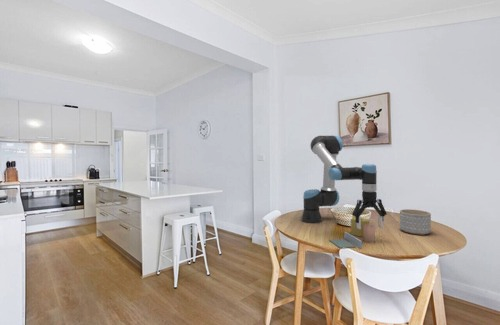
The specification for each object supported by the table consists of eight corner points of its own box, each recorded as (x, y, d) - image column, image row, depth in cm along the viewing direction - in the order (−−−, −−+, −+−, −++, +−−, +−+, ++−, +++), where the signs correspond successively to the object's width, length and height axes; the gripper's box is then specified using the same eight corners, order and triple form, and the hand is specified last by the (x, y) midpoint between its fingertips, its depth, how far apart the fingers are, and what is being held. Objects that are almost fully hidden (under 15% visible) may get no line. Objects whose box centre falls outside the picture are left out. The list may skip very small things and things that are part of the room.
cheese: (369, 233, 155) (369, 217, 155) (368, 238, 145) (368, 221, 145) (352, 230, 160) (352, 215, 160) (349, 235, 151) (349, 219, 151)
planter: (436, 236, 147) (436, 215, 146) (406, 235, 150) (406, 214, 150) (422, 228, 163) (422, 209, 162) (395, 227, 166) (395, 208, 166)
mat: (329, 240, 141) (329, 239, 141) (343, 239, 143) (343, 238, 143) (340, 248, 129) (340, 247, 129) (355, 247, 131) (355, 246, 131)
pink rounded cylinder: (361, 239, 143) (361, 224, 143) (370, 238, 144) (370, 223, 144) (367, 243, 137) (367, 227, 137) (377, 242, 138) (377, 226, 138)
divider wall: (344, 238, 145) (344, 231, 145) (345, 238, 145) (345, 231, 145) (360, 248, 129) (360, 241, 129) (362, 248, 129) (362, 241, 129)
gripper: (352, 192, 134) (353, 230, 134) (393, 191, 138) (393, 228, 138) (345, 190, 142) (346, 227, 142) (384, 189, 145) (384, 224, 146)
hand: (369, 227), depth 140 cm, fingers open, 13 cm apart
